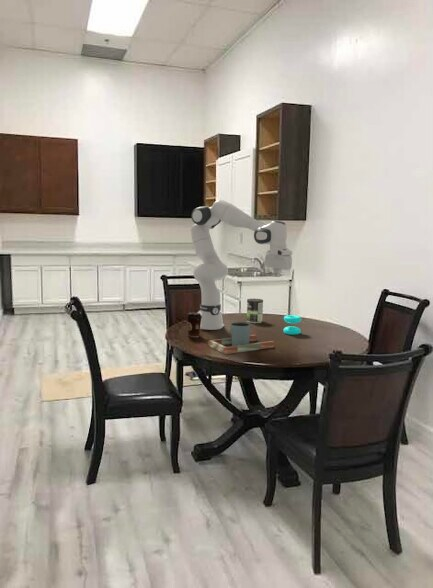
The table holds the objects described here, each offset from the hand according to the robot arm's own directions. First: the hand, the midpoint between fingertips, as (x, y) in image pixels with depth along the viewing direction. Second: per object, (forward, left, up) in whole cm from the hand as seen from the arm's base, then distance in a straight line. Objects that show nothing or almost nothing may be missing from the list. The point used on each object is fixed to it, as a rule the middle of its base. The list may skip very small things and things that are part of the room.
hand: (277, 276), depth 266 cm
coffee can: (-41, +14, -34) cm, 55 cm away
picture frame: (+8, -28, -34) cm, 45 cm away
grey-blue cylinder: (+8, -28, -34) cm, 45 cm away
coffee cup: (-23, -39, -34) cm, 57 cm away
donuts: (-4, +15, -34) cm, 38 cm away
